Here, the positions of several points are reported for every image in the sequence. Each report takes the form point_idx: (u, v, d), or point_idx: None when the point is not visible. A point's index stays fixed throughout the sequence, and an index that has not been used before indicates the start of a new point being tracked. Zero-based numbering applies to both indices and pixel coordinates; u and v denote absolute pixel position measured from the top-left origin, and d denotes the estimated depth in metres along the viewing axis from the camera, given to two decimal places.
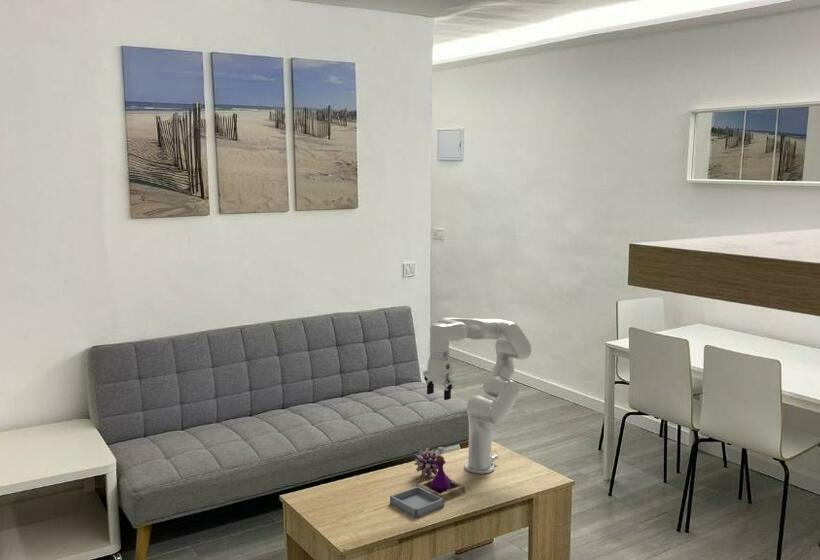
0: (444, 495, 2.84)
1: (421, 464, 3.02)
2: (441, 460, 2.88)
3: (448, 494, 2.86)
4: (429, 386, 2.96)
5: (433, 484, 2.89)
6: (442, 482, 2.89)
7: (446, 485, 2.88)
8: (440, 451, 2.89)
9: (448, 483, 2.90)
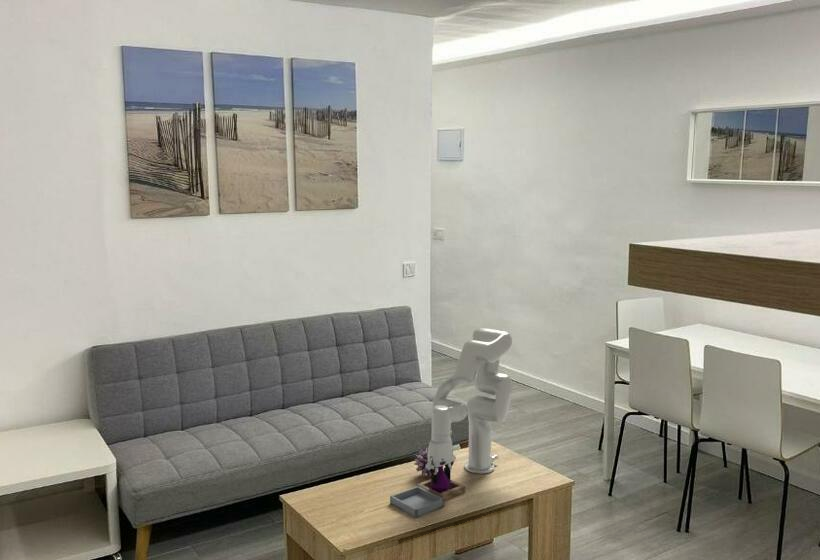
0: (444, 495, 2.84)
1: (421, 464, 3.02)
2: None
3: (448, 494, 2.86)
4: None
5: (433, 484, 2.89)
6: (442, 482, 2.89)
7: (446, 485, 2.88)
8: None
9: (448, 483, 2.90)
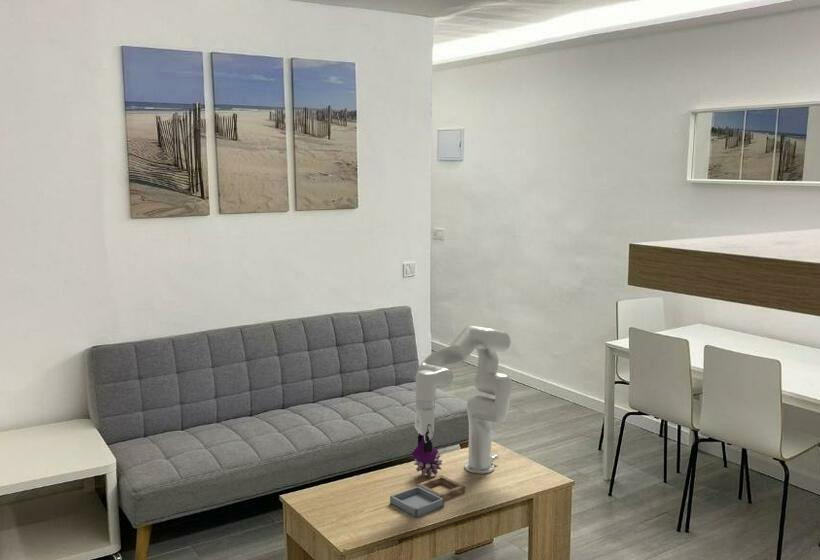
0: (444, 495, 2.84)
1: (421, 464, 3.02)
2: None
3: (448, 494, 2.86)
4: None
5: (428, 453, 2.78)
6: (432, 448, 2.81)
7: (435, 449, 2.82)
8: None
9: None
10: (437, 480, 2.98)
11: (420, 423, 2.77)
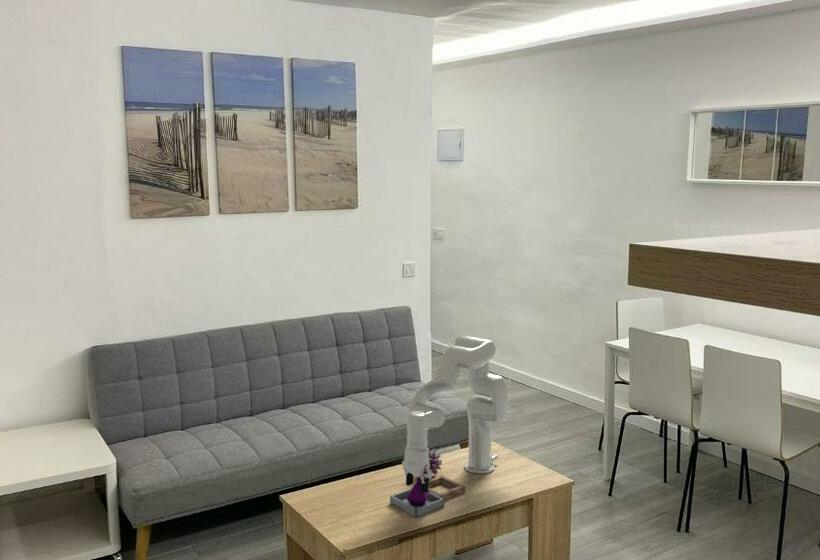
0: (444, 495, 2.84)
1: None
2: None
3: (448, 494, 2.86)
4: None
5: (425, 496, 2.77)
6: None
7: None
8: None
9: None
10: (437, 480, 2.98)
11: (416, 465, 2.74)
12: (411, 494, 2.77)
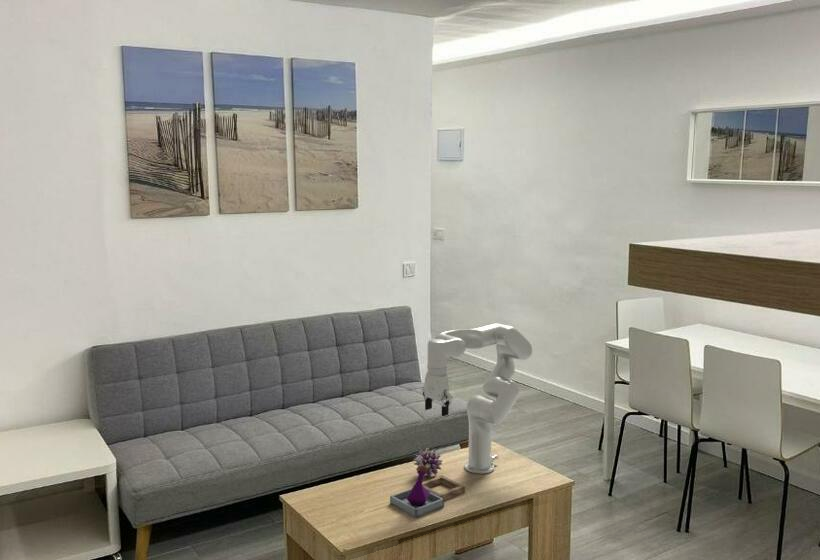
0: (444, 495, 2.84)
1: (421, 464, 3.02)
2: None
3: (448, 494, 2.86)
4: None
5: (425, 497, 2.77)
6: (425, 490, 2.80)
7: (427, 491, 2.82)
8: (421, 461, 2.78)
9: None
10: (437, 480, 2.98)
11: (436, 390, 2.89)
12: (411, 494, 2.77)
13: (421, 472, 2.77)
